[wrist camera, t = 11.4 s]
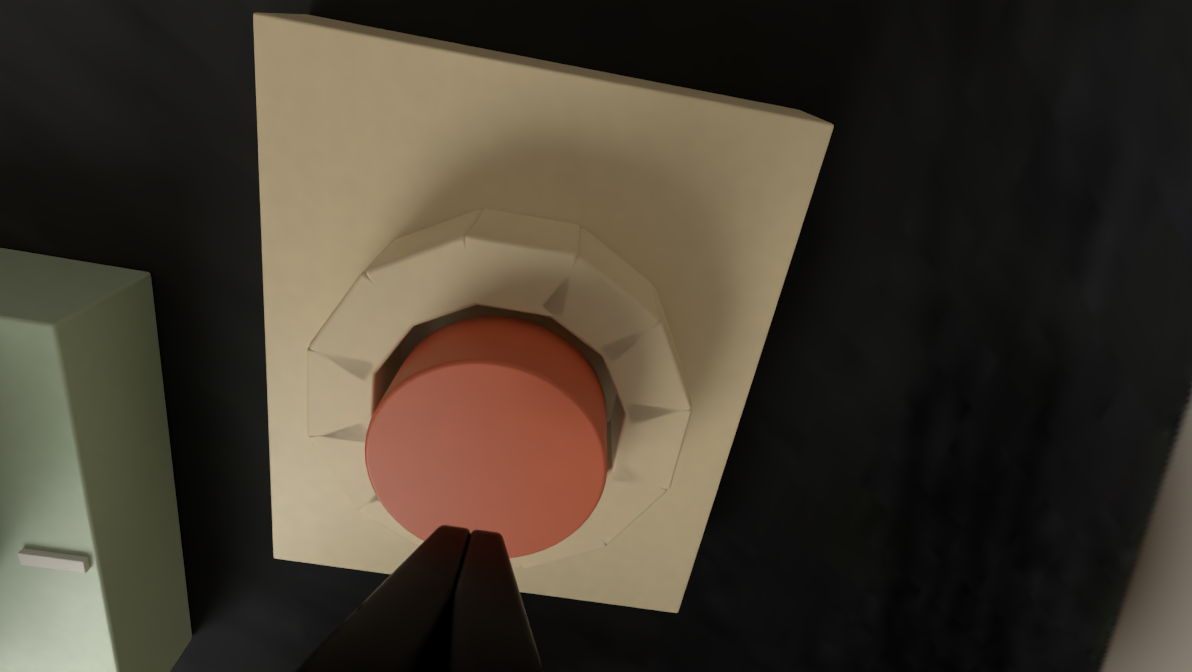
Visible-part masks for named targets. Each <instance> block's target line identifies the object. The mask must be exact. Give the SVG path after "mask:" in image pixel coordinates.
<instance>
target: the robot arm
mask: <svg viewBox="0 0 1192 672" xmlns="http://www.w3.org/2000/svg"><path fill="white" fill-rule="evenodd" d="M294 672H544V671H543V667H542V664H541V661H540V658H539V654H538V651H537V648H536V644H535V641H534V638H533V635H532V631H531V628H530V625H529V621H528V618H527V615H526V611H525V608H524V605H523V602H522V598H521V595H520V592H519V588H518V585H517V582H516V578H515V575H514V572H513V569H512V565H511V562H510V559H509V555H508V552H507V549H506V546H505V542H504V539H503V537H502V535H501V534H500V533H498V532H492V531H485V530H478V529H475V530H473V531H472V532H471V534H470V530H469V529H468V528H464V527H457V526H450V525H441V526H439V527H438V528H437V529H436V530H435V531H434V532H433V533H432V534H431V535H430V536H429V537H428V538H427V539H426V540H425V541H424V542H423V543H422V544H421V545H420V546H419V547H418V548H417V549H416V550H415V551H414V552H413V553H412V554H411V555H410V556H409V557H408V558H407V559H406V560H405V561H404V562H403V563H402V564H401V565H400V566H399V567H398V568H397V569H396V570H395V571H394V572H393V573H392V574H391V575H390V576H389V577H388V578H387V579H386V580H385V581H384V582H383V583H382V584H381V585H380V586H379V587H378V588H377V589H376V590H375V591H374V592H373V593H372V594H371V595H370V596H369V597H368V598H367V599H366V600H365V601H364V602H363V603H362V604H361V605H360V606H359V607H358V608H357V609H356V610H355V611H354V612H353V613H352V614H351V615H350V616H349V617H348V618H347V619H346V620H345V621H344V622H343V623H342V624H341V625H340V626H339V627H338V628H337V629H336V630H335V631H334V632H333V633H332V634H331V635H330V636H329V637H328V638H327V639H326V640H325V641H324V642H323V643H322V644H321V645H320V646H319V647H318V648H317V649H316V650H315V651H314V652H313V653H312V654H311V655H310V656H309V657H308V658H307V659H306V660H305V661H304V662H303V663H302V664H301V665H300V666H299V667H298V668H297V669H296V670H295V671H294Z"/></svg>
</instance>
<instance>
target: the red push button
mask: <svg viewBox="0 0 1192 672" xmlns="http://www.w3.org/2000/svg"><path fill="white" fill-rule="evenodd" d="M365 462H366V467H367V472H368V476H369V479H370V482H371V485H372V487H373V489H374V491H375V493H376V495H377V497H378V499H379V500H380V502H381V503H382V505H383V506H384V507H385V509H386V510H387V511H388V513H389V514H390V515H391V516H392V517H393V518H394V519H395V520H396V521H397V522H398V523H399V524H400V525H402V526H403V527H404V528H405V529H406V530H407V531H409V532H410V533H412V534H413V535H415V536H416V537H418V538H419V539H421V540H423V541H425V540H426V539H427V538H428V537H429V536H430V535H431V534H432V533H433V532H434V531H435V530H436V529H437V528H438V527H439V526H441V525H450V526H457V527H464V528H468V529H469V530H470V534H471V532H472V531H473V530H475V529H478V530H485V531H492V532H498V533H500V534H501V535H502V537H503V539H504V542H505V546H506V549H507V552H508V555H509V558H515V557H521V556H526V555H530V554H534V553H537V552H540V551H543V550H545V549H547V548H550V547H552V546H554V545H556V544H558V543H559V542H561V541H563V540H564V539H566V538H568V537H569V536H570V535H571V534H573V533H574V532H575V531H576V530H578V529H579V528H580V527H581V526H582V525H583V523H584V522H585V521H586V520H587V519H588V518H589V516H590V515H591V514H592V512H593V511H594V509H595V508H596V506H597V504H598V502H599V500H600V498H601V496H602V493H603V490H604V487H605V484H606V477H607V412H606V401H605V396H604V392H603V389H602V386H601V383H600V381H599V379H598V377H597V375H596V373H595V371H594V369H593V368H592V367H591V365H590V364H589V362H588V361H587V359H586V358H585V357H584V356H583V355H582V354H581V353H580V352H579V351H578V350H577V349H576V348H575V347H574V346H573V345H572V344H570V343H569V342H568V341H567V340H565V339H564V338H562V337H561V336H559V335H558V334H556V333H555V332H553V331H551V330H549V329H547V328H545V327H543V326H540V325H537V324H534V323H532V322H529V321H525V320H520V319H516V318H510V317H500V316H489V317H477V318H470V319H465V320H462V321H458V322H454V323H452V324H449V325H447V326H445V327H442V328H440V329H439V330H437V331H435V332H433V333H432V334H430V335H429V336H427V337H426V338H425V339H424V340H422V341H421V342H420V343H419V344H418V345H417V346H416V347H415V348H414V349H413V350H412V351H411V352H410V353H409V355H408V356H407V358H406V359H405V361H404V362H403V364H402V365H401V367H400V369H399V370H398V372H397V374H396V376H395V377H394V379H393V381H392V382H391V384H390V386H389V388H388V389H387V391H386V393H385V394H384V396H383V398H382V400H381V401H380V403H379V405H378V406H377V408H376V410H375V412H374V414H373V416H372V418H371V420H370V423H369V427H368V430H367V433H366V441H365Z"/></svg>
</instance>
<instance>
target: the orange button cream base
mask: <svg viewBox="0 0 1192 672" xmlns="http://www.w3.org/2000/svg"><path fill="white" fill-rule="evenodd" d="M253 25H254V52H255V79H256V105H257V132H258V159H259V185H260V212H261V239H262V265H263V292H264V319H265V346H266V372H267V399H268V426H269V452H270V479H271V506H272V532H273V557H274V558H275V559H282V560H289V561H297V562H304V563H311V564H319V565H326V566H333V567H341V568H348V569H355V570H363V571H370V572H378V573H385V574H392V573H393V572H394V571H395V570H396V569H397V568H398V567H399V566H400V565H401V564H402V563H403V562H404V561H405V560H406V559H407V558H408V557H409V556H410V555H411V554H412V553H413V552H414V551H415V550H416V549H417V548H418V547H419V546H420V545H421V544H422V543H423V542H424V541H423V540H421V539H419V538H418V537H416V536H415V535H413V534H412V533H410V532H409V531H407V530H406V529H405V528H404V527H403V526H402V525H400V524H399V523H398V522H397V521H396V520H395V519H394V518H393V517H392V516H391V515H390V514H389V513H388V511H387V510H386V509H385V507H384V506H383V505H382V503H381V502H380V500H379V499H378V497H377V495H376V493H375V491H374V489H373V487H372V485H371V482H370V479H369V476H368V472H367V467H366V462H365V441H366V433H367V430H368V427H369V423H370V420H371V418H372V416H373V414H374V412H375V410H376V408H377V406H378V405H379V403H380V401H381V400H382V398H383V396H384V394H385V393H386V391H387V389H388V388H389V386H390V384H391V382H392V381H393V379H394V377H395V376H396V374H397V372H398V370H399V369H400V367H401V365H402V364H403V362H404V361H405V359H406V358H407V356H408V355H409V353H410V352H411V351H412V350H413V349H414V348H415V347H416V346H417V345H418V344H419V343H420V342H421V341H422V340H424V339H425V338H426V337H427V336H429V335H430V334H432V333H433V332H435V331H437V330H439V329H440V328H442V327H445V326H447V325H449V324H452V323H454V322H458V321H462V320H465V319H470V318H477V317H489V316H500V317H510V318H516V319H520V320H525V321H529V322H532V323H534V324H537V325H540V326H543V327H545V328H547V329H549V330H551V331H553V332H555V333H556V334H558V335H559V336H561V337H562V338H564V339H565V340H567V341H568V342H569V343H570V344H572V345H573V346H574V347H575V348H576V349H577V350H578V351H579V352H580V353H581V354H582V355H583V356H584V357H585V358H586V359H587V361H588V362H589V364H590V365H591V367H592V368H593V369H594V371H595V373H596V375H597V377H598V379H599V381H600V383H601V386H602V389H603V392H604V396H605V401H606V412H607V477H606V484H605V487H604V490H603V493H602V496H601V498H600V500H599V502H598V504H597V506H596V508H595V509H594V511H593V512H592V514H591V515H590V516H589V518H588V519H587V520H586V521H585V522H584V523H583V525H582V526H581V527H580V528H579V529H578V530H576V531H575V532H574V533H573V534H571V535H570V536H569V537H568V538H566V539H564V540H563V541H561V542H559V543H558V544H556V545H554V546H552V547H550V548H547V549H545V550H543V551H540V552H537V553H534V554H530V555H526V556H521V557H515V558H509V559H510V562H511V565H512V569H513V572H514V575H515V578H516V582H517V585H518V588H519V592H525V593H532V594H540V595H547V596H554V597H562V598H569V599H576V600H584V601H591V602H599V603H606V604H613V605H621V606H628V607H635V608H643V609H650V610H658V611H665V612H672V613H678V611H679V608H680V605H681V602H682V599H683V596H684V593H685V590H686V586H687V583H688V580H689V577H690V574H691V571H692V568H693V565H694V561H695V558H696V555H697V552H698V549H699V546H700V543H701V540H702V536H703V533H704V530H705V527H706V524H707V521H708V518H709V515H710V512H711V508H712V505H713V502H714V499H715V496H716V493H717V490H718V487H719V483H720V480H721V477H722V474H723V471H724V468H725V465H726V462H727V459H728V455H729V452H730V449H731V446H732V443H733V440H734V437H735V434H736V430H737V427H738V424H739V421H740V418H741V415H742V412H743V409H744V405H745V402H746V399H747V396H748V393H749V390H750V387H751V384H752V381H753V377H754V374H755V371H756V368H757V365H758V362H759V359H760V356H761V352H762V349H763V346H764V343H765V340H766V337H767V334H768V331H769V327H770V324H771V321H772V318H773V315H774V312H775V309H776V306H777V303H778V299H779V296H780V293H781V290H782V287H783V284H784V281H785V278H786V274H787V271H788V268H789V265H790V262H791V259H792V256H793V253H794V250H795V246H796V243H797V240H798V237H799V234H800V231H801V228H802V225H803V221H804V218H805V215H806V212H807V209H808V206H809V203H810V200H811V196H812V193H813V190H814V187H815V184H816V181H817V178H818V175H819V172H820V168H821V165H822V162H823V159H824V156H825V153H826V150H827V147H828V143H829V140H830V137H831V134H832V131H833V128H834V125H833V124H832V123H829V122H827V121H825V120H822V119H820V118H817V117H815V116H813V115H810V114H808V113H806V112H803V111H801V110H797V109H792V108H787V107H782V106H777V105H772V104H767V103H761V102H756V101H751V100H746V99H741V98H736V97H730V96H725V95H720V94H715V93H710V92H705V91H699V90H694V89H689V88H684V87H679V86H674V85H668V84H663V83H658V82H653V81H648V80H643V79H637V78H632V77H627V76H622V75H617V74H612V73H607V72H601V71H596V70H591V69H586V68H581V67H576V66H570V65H565V64H560V63H555V62H550V61H545V60H539V59H534V58H529V57H524V56H519V55H514V54H508V53H503V52H498V51H493V50H488V49H483V48H477V47H472V46H467V45H462V44H457V43H452V42H447V41H441V40H436V39H431V38H426V37H421V36H416V35H410V34H405V33H400V32H395V31H390V30H385V29H379V28H374V27H369V26H364V25H359V24H354V23H348V22H343V21H338V20H333V19H328V18H323V17H318V16H312V15H307V14H281V13H254V14H253Z"/></svg>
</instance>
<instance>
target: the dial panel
mask: <svg viewBox="0 0 1192 672" xmlns="http://www.w3.org/2000/svg"><path fill="white" fill-rule="evenodd" d="M191 639H192V631H191V622H190V614H189V605H188V596H187V587H186V578H185V570H184V561H183V552H182V543H181V535H180V526H179V517H178V508H177V500H176V491H175V482H174V473H173V464H172V456H171V447H170V438H169V429H168V421H167V412H166V403H165V394H164V386H163V377H162V368H161V359H160V350H159V342H158V333H157V324H156V315H155V307H154V298H153V289H152V280H151V274H150V273H149V272H145V271H139V270H133V269H127V268H121V267H115V266H108V265H102V264H96V263H90V262H84V261H78V260H72V259H66V258H60V257H54V256H47V255H41V254H35V253H29V252H23V251H17V250H11V249H5V248H0V672H170V671H171V669H172V668H173V666H174V665H175V663H176V662H177V660H178V659H179V657H180V656H181V654H182V653H183V651H184V650H185V648H186V647H187V645H188V644H189V642H190V641H191Z"/></svg>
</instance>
